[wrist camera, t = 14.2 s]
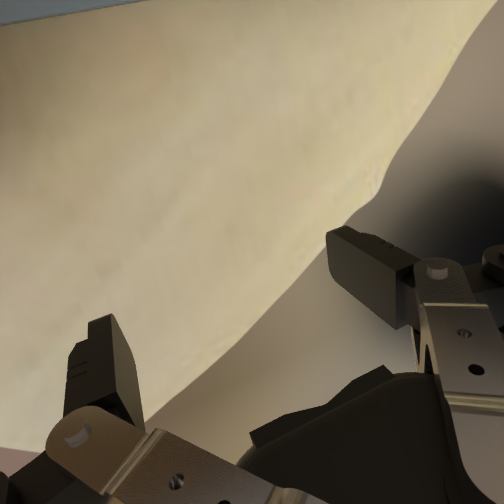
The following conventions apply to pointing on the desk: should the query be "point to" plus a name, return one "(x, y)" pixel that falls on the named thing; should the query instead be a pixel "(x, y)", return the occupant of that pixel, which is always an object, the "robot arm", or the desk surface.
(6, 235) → the desk surface
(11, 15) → the board
